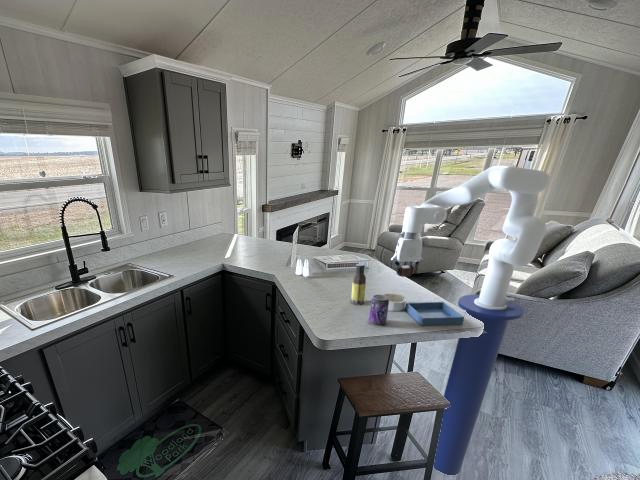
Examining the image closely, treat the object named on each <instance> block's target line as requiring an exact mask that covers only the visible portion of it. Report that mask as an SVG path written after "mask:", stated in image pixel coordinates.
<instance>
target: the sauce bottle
mask: <svg viewBox="0 0 640 480" xmlns="http://www.w3.org/2000/svg"><path fill="white" fill-rule="evenodd" d="M365 268H366V265H365V263H359V262H358V263H355V273H354V275H353V277H352V284H351V296H350V297H351V299H350V300H351V303H352V304H354V305H362V304H364V303H365V295H366V285H367V277H366V274H365Z"/></svg>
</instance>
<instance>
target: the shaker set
mask: <svg viewBox="0 0 640 480" xmlns="http://www.w3.org/2000/svg"><path fill="white" fill-rule="evenodd" d="M295 275H297V276H301V275H302V276H303V277H305V278H307V279H308V278H311V277H312V276H313V275H314V274H313V270H312V266H311V263H310V260H309V259H305V260H304V264H303V260H302V259H300V258H298V259H297V263H296V269H295Z"/></svg>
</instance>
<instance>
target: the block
mask: <svg viewBox="0 0 640 480" xmlns="http://www.w3.org/2000/svg"><path fill="white" fill-rule="evenodd" d="M411 271H412V268H411V267H409V265H407V264H406V265H402V274H401V276H400V277H403V278H407V277H412V276H411Z"/></svg>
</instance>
